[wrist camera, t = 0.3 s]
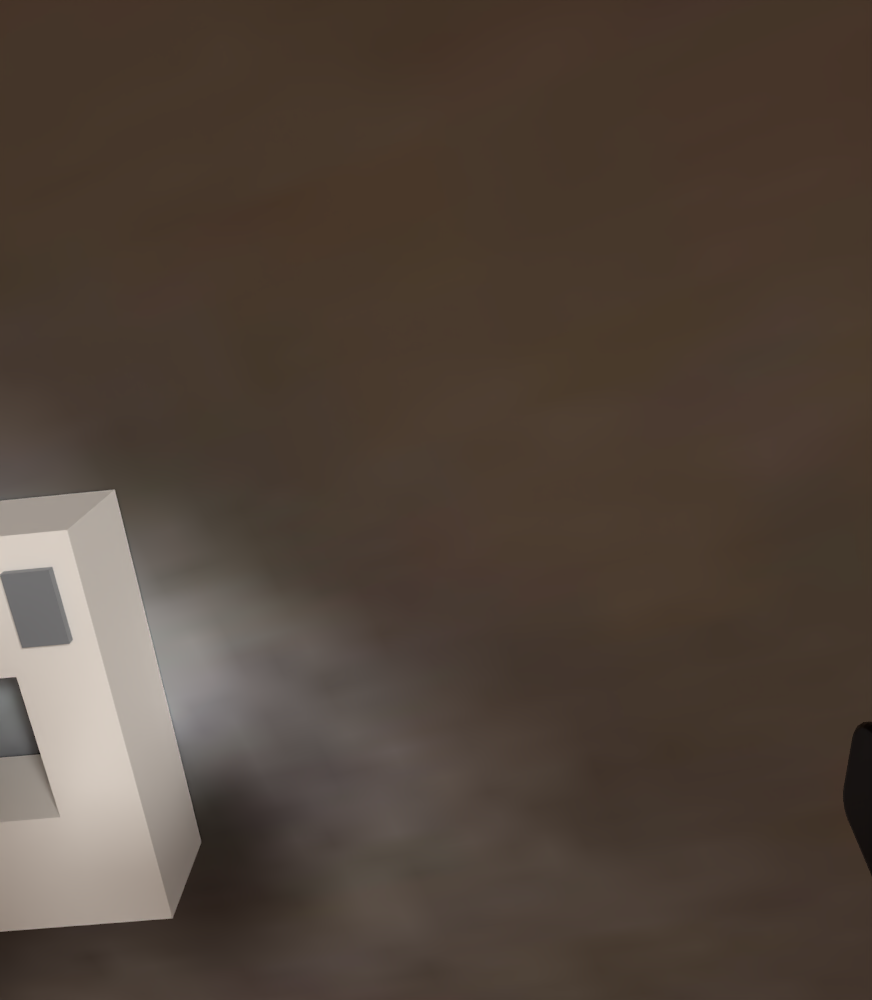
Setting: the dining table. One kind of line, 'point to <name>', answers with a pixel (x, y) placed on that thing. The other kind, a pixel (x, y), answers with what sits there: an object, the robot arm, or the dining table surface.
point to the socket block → (85, 727)
